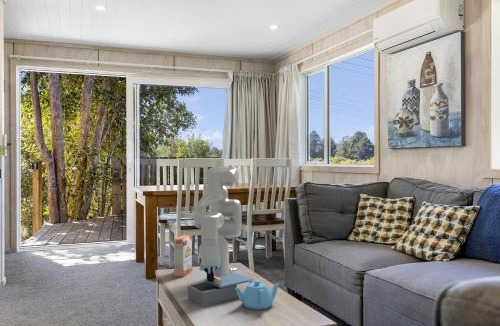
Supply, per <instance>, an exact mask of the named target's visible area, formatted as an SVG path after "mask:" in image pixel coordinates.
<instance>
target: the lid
mask: <svg viewBox="0 0 500 326" xmlns="http://www.w3.org/2000/svg"><path fill="white" fill-rule="evenodd" d="M249 280H252V281H253V282H254V279H253V278H252V277H249V276H246V275H242V274H240V273H237V272H232V273H231V274H228V275H223V276H218V277H215V276H214V282H208V281H207V278H205V279H204V282H208V283H210V284H212V285H215V286H217V287H219V288H225V287H229V286H233V285H237V286H238V285H241V284H245V283H249Z"/></svg>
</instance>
